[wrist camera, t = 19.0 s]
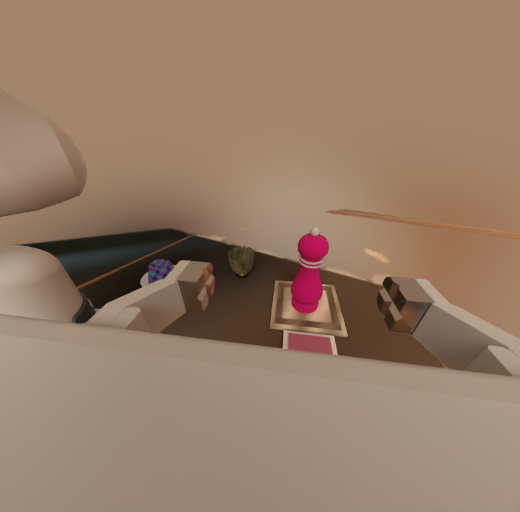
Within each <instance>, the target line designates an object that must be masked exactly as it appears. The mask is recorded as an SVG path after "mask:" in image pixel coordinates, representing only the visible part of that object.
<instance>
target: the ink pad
mask: <svg viewBox="0 0 520 512" xmlns="http://www.w3.org/2000/svg"><path fill="white" fill-rule="evenodd" d="M283 349H291V350H300V351H308V352H316V353H324V354H333V355H338V354H337V349H336V344H335V339H334V336H331V335H322V334H313V333H304V332H296V331H287V330H284V334H283Z"/></svg>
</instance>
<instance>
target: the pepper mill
mask: <svg viewBox="0 0 520 512" xmlns="http://www.w3.org/2000/svg"><path fill="white" fill-rule="evenodd" d="M310 232H311V233H310V234H306V235H304V236H303V237H302V238H301V239H300V240H299V243H298V251H299V253H300V255H299V263H300V270H299V273H298V275H297V276H296V278H295V279H294V280H293V282H292V285H291V294H292V302H291V303H292V306H293V308H294V309H295V310H297V311H298V312H301V313H305V314H310V313H313V312H315V311H316V310H317V308H318V303H319V300H320V299H321V297H322V294H323V287H322V283H321V280H320V275H319V271H320V267H321V266H322V265H323V261H324V256H325V255H326V254H327V253H328V248H329V245H328V241H327V239H326V238H325V237H324V236H322V235H320V230H319V228H316V227H314V228H312V229H311V231H310Z"/></svg>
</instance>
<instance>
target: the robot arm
mask: <svg viewBox="0 0 520 512" xmlns="http://www.w3.org/2000/svg"><path fill="white" fill-rule="evenodd" d="M86 178H87V169H86V164H85V161H84V158H83V156H82V153H81V151H80V150H79V148H78V146H77V145H76V143H75V142H74V141H73V139H72V138H71V137H70V136H69V135H68V134H67V133H66V132H65V131H64V130H63V129H62V128H61V127H60V126H59V125H58V124H57V123H55V122H54V121H52V120H51V119H50V118H49V117H47V116H46V115H44V114H43V113H41V112H39V111H38V110H36V109H34V108H32V107H30V106H29V105H27V104H25V103H23V102H22V101H20V100H18V99H17V98H15V97H13V96H12V95H10V94H9V93H7V92H6V91H4V90H3V89H1V88H0V217H2V216H8V215H13V214H19V213H24V212H30V211H36V210H40V209H43V208H46V207H49V206H52V205H55V204H58V203H61V202H63V201H66V200H69V199H71V198H74V197H77V196H79V195H80V194H81V193H82V191H83V189H84V187H85V184H86ZM212 271H213V266H212V264H211V263H206V262H196V261H184V260H182V261H180V262H179V263H178V264H177V265H176V266H175V267H174V269H173V270H172V271H171V272H170V273H169V274H168V275H167V276H166V278H165V279H160V280H158V281H156V282H153V283H151V284H149V285H147V286H145V287H142V288H140V289H138V290H136V291H133V292H131V293H129V294H127V295H124V296H122V297H120V298H118V299H116V300H113V301H111V302H109V303H107V304H106V305H105V306H104V307H103V308H101V309H94V308H93V306H92V303H91V302H90V300H89V299H87V297H86V296H85V295H84V294H83V293H81V292H79V291H78V290H77V288H76V286H75V285H74V283H73V282H72V280H71V279H70V277H69V275H68V274H67V272H66V271H65V269H64V268H63V266H62V264H61V263H60V261H59V260H58V259H57V258H56V257H54V256H53V255H51V254H49V253H48V252H45V251H43V250H40V249H36V248H31V247H26V246H18V245H0V512H520V339H518V338H516V337H514V336H512V335H510V334H508V333H506V332H505V331H503V330H501V329H499V328H497V327H495V326H493V325H491V324H489V323H488V322H486V321H484V320H482V319H480V318H478V317H476V316H474V315H472V314H471V313H469V312H467V311H465V310H463V309H461V308H459V307H457V306H455V305H450V304H449V302H448V301H447V300H446V299H445V298H444V297H443V296H442V295H441V294H440V293H439V292H438V291H437V290H436V289H435V288H434V287H433V286H432V284H431V283H430V282H429V281H428V280H426V279H420V278H398V277H386V278H385V279H384V281H383V283H382V284H383V286H384V288H383V289H382V290H380V291H379V293H378V296H377V305H378V308H379V310H380V312H381V313H383V314H384V315H385V318H384V321H385V323H386V324H387V326H388V328H389V330H390V332H394V333H402V334H410V335H412V336H413V337H414V338H415V339H416V340H417V341H418V342H419V343H421V344H422V345H423V346H424V347H425V348H426V349H427V350H428V351H430V352H431V353H432V354H433V355H434V356H435V357H436V358H437V359H439V360H440V361H441V362H442V363H443V364H444V365H445V366H446V367H448V368H449V369H447V368H439V367H430V366H422V365H414V364H406V363H397V362H389V361H381V360H373V359H365V358H357V357H349V356H341V355H333V354H324V353H316V352H308V351H300V350H291V349H283V348H275V347H267V346H259V345H250V344H242V343H234V342H226V341H218V340H209V339H201V338H193V337H185V336H177V335H168V334H160V333H159V332H160V331H162V330H163V329H164V328H166V327H167V326H168V325H170V324H171V323H172V322H173V321H175V320H176V319H177V318H179V317H180V316H181V315H183V314H184V313H185V312H186V311H196V312H204V310H205V308H206V306H207V304H208V297H210V296H212V294H213V291H214V287H215V279H214V276H213V275H212V274H211V273H212Z"/></svg>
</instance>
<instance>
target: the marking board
mask: <svg viewBox="0 0 520 512" xmlns="http://www.w3.org/2000/svg"><path fill="white" fill-rule="evenodd" d="M291 285H292V282H288V281H276V280H275V288H274V296H273V305H272V313H271V321H270V328H271V329H280V330H288V331H297V332H306V333H315V334H324V335H332V336H341V337H347V336H348V335H347V331H346V327H345V324H344V320H343V316H342V313H341V309H340V305H339V302H338V298H337V294H336V291H335V287H334V285H325V284H322V287H323V294H322V297H321V299H320V300H319V303H318V308H317V310H316V311H315V312H313V313H310V314H305V313H301V312H298V311H297V310H295V309H294V308H293V306H292V303H291V302H292V294H291Z"/></svg>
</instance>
